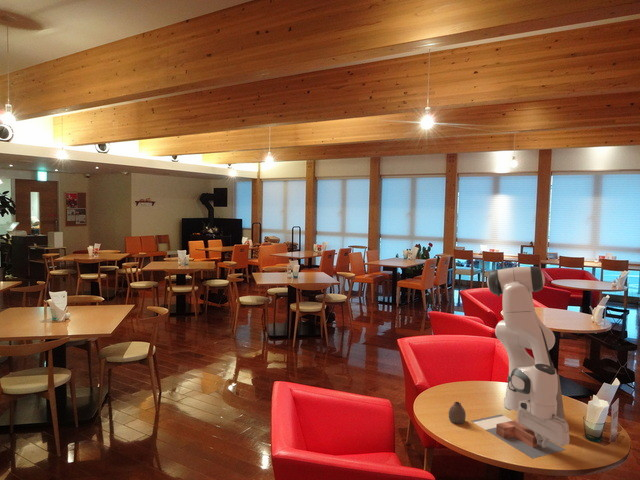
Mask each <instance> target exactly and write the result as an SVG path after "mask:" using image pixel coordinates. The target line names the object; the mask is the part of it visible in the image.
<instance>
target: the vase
mask: <svg viewBox="0 0 640 480" xmlns="http://www.w3.org/2000/svg"><path fill="white" fill-rule="evenodd" d="M448 419H449V420H448V421H450V423H452V424H455V425H462V424H464V423H465V421H466V419H467V414H466V410H465V408H464V407H463V406H462V404H461V402H460V401H454V403H453V404H452V405H451V406H450V407H449V409H448Z"/></svg>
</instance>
